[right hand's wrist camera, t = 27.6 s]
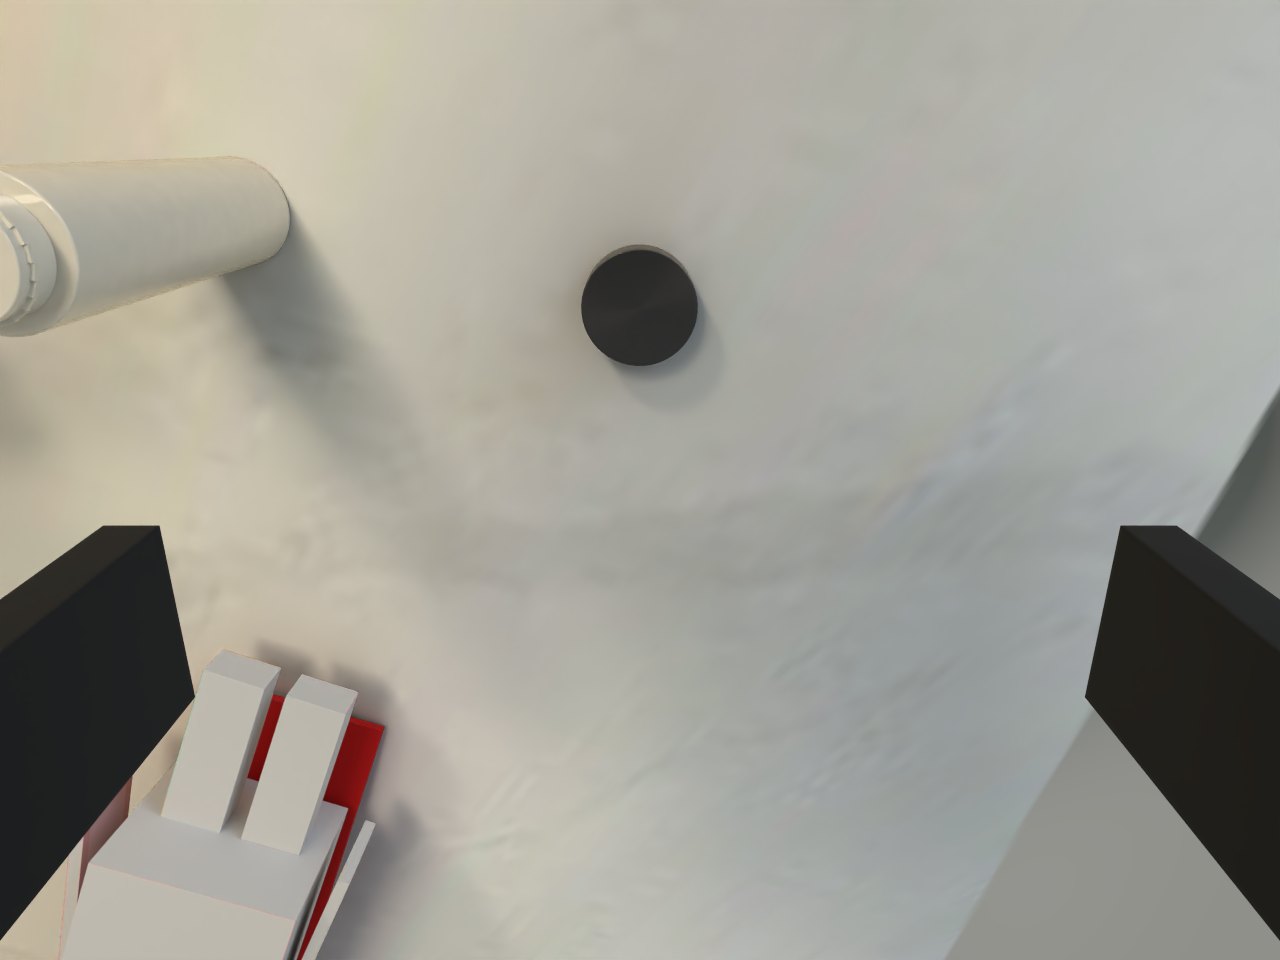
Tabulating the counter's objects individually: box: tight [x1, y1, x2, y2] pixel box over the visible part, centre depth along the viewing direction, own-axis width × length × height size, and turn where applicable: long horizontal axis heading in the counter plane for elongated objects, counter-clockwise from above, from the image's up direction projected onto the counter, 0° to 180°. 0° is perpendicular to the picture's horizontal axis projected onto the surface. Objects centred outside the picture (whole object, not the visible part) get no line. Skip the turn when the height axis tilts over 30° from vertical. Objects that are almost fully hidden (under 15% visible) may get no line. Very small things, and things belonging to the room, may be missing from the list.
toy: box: [59, 650, 385, 960], centre depth 44 cm, size 12×13×30 cm
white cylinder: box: [0, 156, 290, 337], centre depth 29 cm, size 4×4×16 cm
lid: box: [581, 245, 697, 366], centre depth 37 cm, size 5×5×2 cm
